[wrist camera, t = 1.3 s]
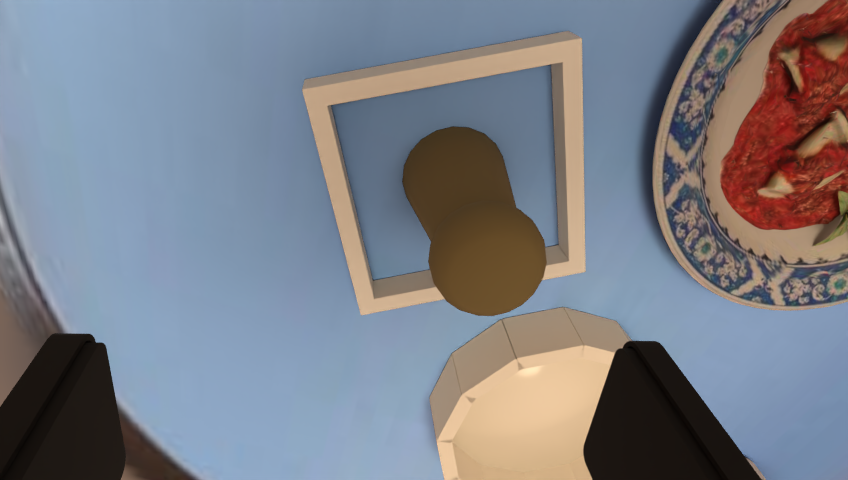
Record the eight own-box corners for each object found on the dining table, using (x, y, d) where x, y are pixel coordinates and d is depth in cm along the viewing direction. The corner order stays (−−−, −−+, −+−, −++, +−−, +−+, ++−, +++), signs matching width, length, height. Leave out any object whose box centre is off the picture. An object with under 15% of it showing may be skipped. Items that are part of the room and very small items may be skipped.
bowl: (647, 290, 40) (676, 326, 36) (639, 448, 48) (662, 490, 44) (416, 335, 39) (423, 376, 36) (447, 487, 47) (455, 532, 44)
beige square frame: (568, 30, 31) (581, 37, 29) (574, 255, 38) (585, 271, 36) (304, 79, 30) (302, 89, 28) (360, 296, 37) (361, 315, 36)
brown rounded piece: (466, 238, 36) (509, 355, 27) (382, 194, 34) (396, 304, 24) (525, 158, 34) (595, 256, 24) (439, 106, 32) (479, 190, 22)
